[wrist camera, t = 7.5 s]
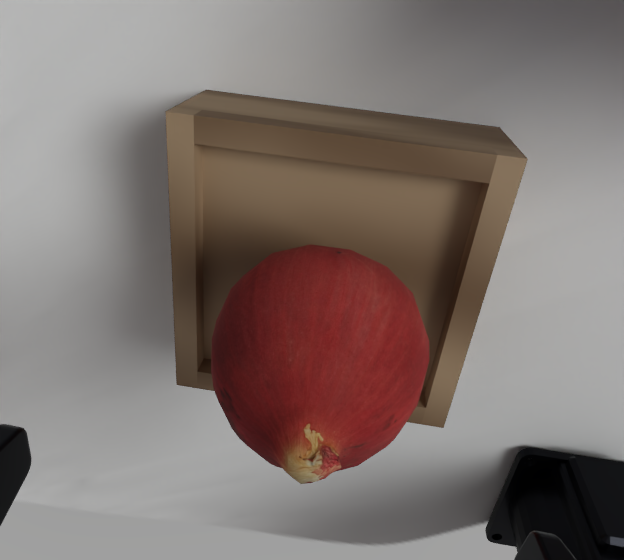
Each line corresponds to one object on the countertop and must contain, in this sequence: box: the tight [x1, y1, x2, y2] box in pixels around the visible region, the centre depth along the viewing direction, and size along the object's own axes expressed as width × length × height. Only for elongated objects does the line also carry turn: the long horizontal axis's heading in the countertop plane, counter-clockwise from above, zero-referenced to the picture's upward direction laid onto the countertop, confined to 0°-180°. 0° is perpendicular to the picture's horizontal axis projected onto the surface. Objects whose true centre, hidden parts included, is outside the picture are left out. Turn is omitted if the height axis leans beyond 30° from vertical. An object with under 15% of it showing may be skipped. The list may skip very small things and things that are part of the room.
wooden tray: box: [166, 90, 527, 428], centre depth 18 cm, size 10×10×4 cm
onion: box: [211, 244, 429, 484], centre depth 14 cm, size 6×6×8 cm
